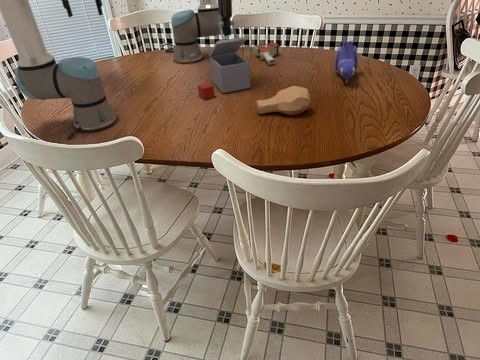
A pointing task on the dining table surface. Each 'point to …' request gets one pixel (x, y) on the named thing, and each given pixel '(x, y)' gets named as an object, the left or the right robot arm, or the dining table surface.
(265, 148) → the dining table surface
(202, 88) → the block
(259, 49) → the tape dispenser
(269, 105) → the squash
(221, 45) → the lid
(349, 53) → the toy
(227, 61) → the chest
